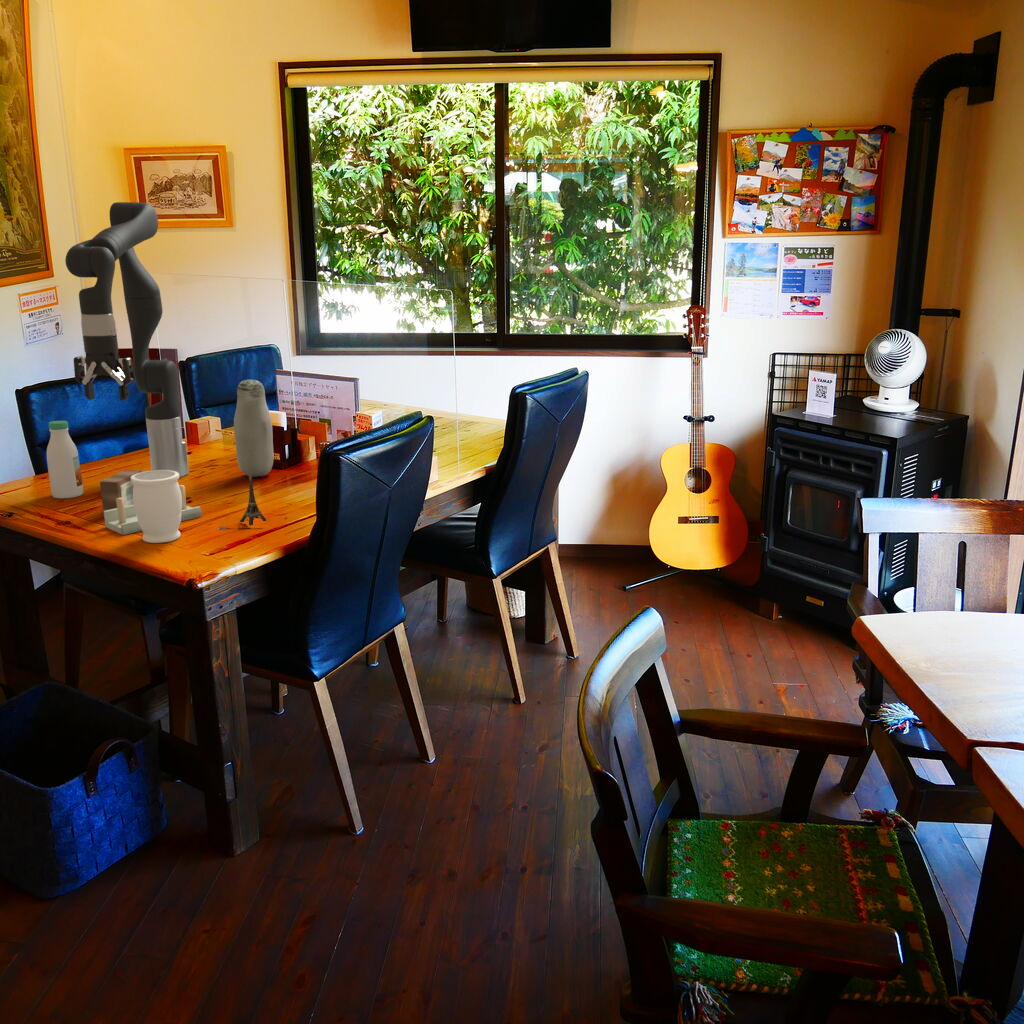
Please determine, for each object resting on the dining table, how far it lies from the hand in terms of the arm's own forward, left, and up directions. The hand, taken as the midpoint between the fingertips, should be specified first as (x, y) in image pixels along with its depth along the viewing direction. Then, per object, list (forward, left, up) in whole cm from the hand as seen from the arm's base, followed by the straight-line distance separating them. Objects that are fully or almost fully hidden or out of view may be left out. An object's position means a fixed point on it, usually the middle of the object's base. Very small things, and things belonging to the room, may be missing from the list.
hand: (107, 399), depth 226 cm
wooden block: (-1, +1, -28) cm, 28 cm away
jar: (+4, +29, -28) cm, 41 cm away
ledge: (-1, +16, -28) cm, 32 cm away
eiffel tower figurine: (-16, +34, -29) cm, 48 cm away
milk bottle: (+3, -23, -28) cm, 37 cm away
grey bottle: (-43, -4, -28) cm, 51 cm away
